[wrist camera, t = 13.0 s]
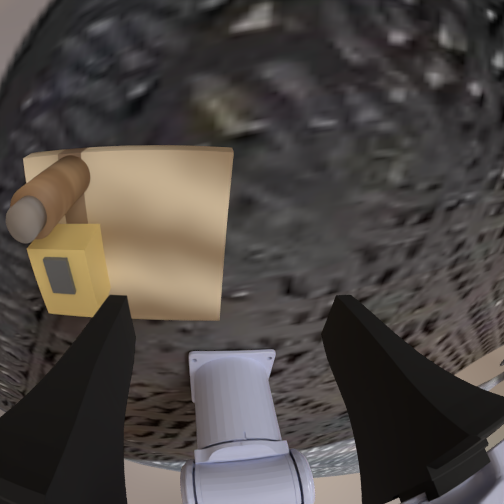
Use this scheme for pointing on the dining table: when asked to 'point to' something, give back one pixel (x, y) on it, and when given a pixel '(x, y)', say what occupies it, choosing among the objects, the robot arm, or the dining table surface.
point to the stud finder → (71, 269)
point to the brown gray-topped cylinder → (47, 199)
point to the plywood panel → (156, 223)
